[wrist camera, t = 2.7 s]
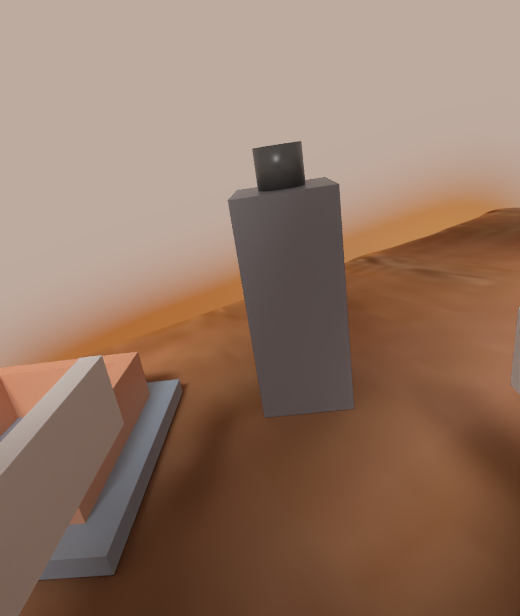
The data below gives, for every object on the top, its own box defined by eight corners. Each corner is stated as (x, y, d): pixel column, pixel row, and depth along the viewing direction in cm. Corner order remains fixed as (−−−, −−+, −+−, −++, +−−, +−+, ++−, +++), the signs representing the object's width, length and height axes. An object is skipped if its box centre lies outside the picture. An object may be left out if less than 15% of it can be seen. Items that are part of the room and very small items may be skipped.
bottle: (339, 363, 26) (321, 138, 21) (354, 408, 22) (335, 134, 17) (266, 371, 27) (231, 152, 22) (264, 417, 22) (219, 153, 17)
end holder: (182, 392, 26) (168, 337, 24) (113, 574, 15) (80, 494, 13) (11, 410, 27) (-12, 359, 25) (-176, 595, 16) (-236, 522, 14)
